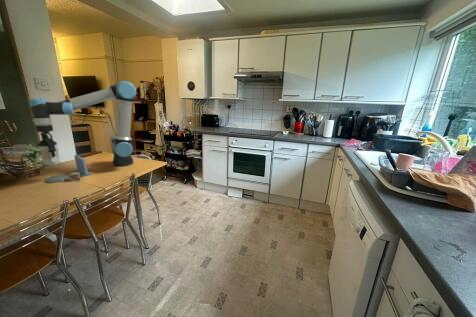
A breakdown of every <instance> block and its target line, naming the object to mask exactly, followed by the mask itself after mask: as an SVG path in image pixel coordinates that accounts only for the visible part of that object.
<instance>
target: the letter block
mask: <svg viewBox="0 0 476 317" xmlns="http://www.w3.org/2000/svg"><path fill="white" fill-rule="evenodd" d="M81 177H82V176H81V175H80V172H75V171H74V172H70V174H69V179H70V182H78V181H81V179H82V178H81Z"/></svg>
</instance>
